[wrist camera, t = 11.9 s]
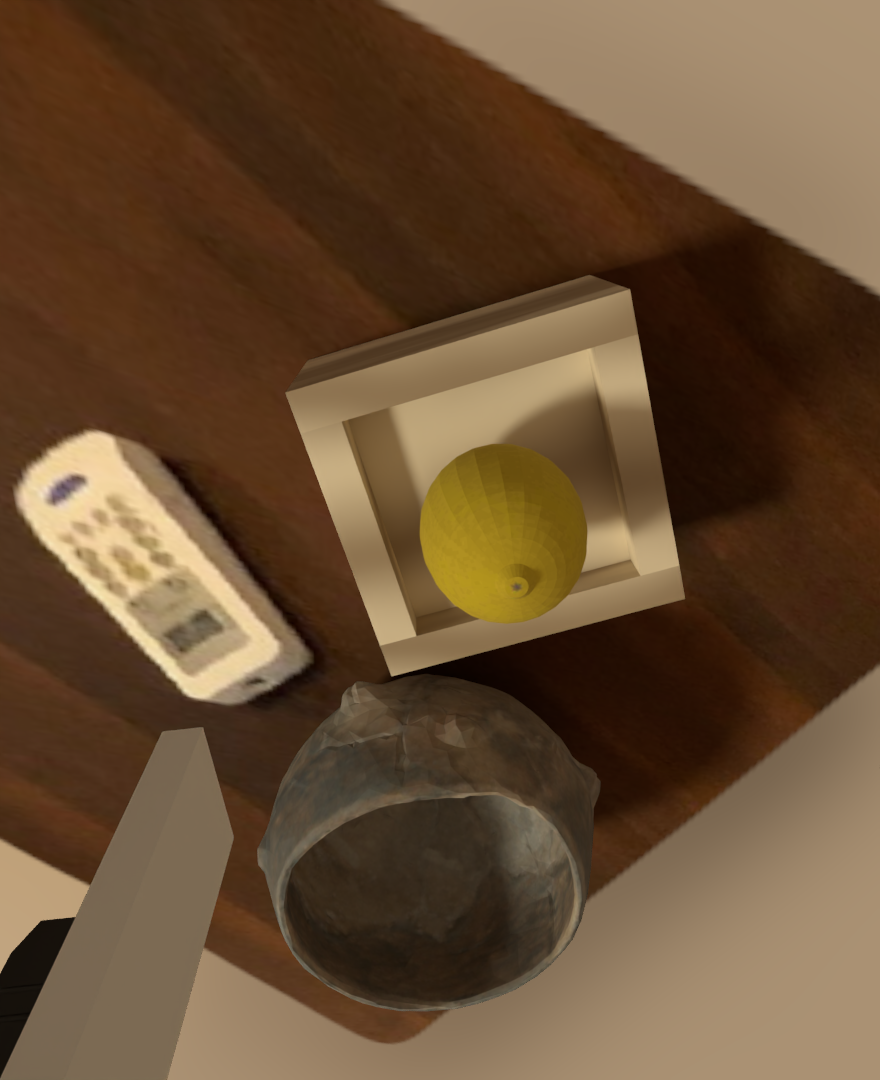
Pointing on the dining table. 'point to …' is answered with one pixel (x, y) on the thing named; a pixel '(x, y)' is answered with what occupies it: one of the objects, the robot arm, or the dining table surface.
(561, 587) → the lemon
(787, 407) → the dining table surface
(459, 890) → the bowl
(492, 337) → the birch box
